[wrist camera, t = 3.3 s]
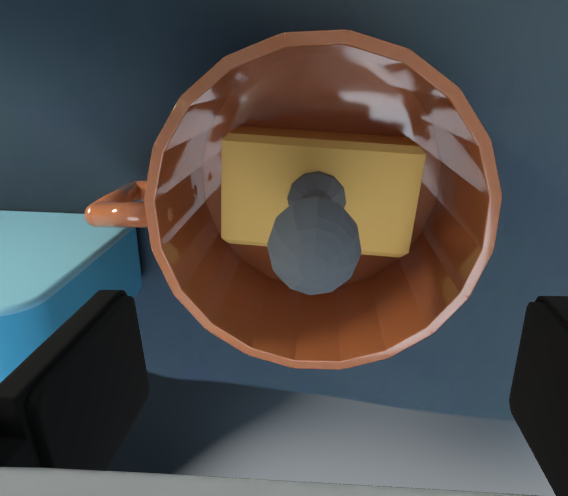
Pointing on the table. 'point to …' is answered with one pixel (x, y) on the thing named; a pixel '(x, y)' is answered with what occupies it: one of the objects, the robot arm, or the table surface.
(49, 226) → the data package
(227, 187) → the rubber stamp
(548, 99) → the table surface
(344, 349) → the terracotta mug
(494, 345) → the table surface
